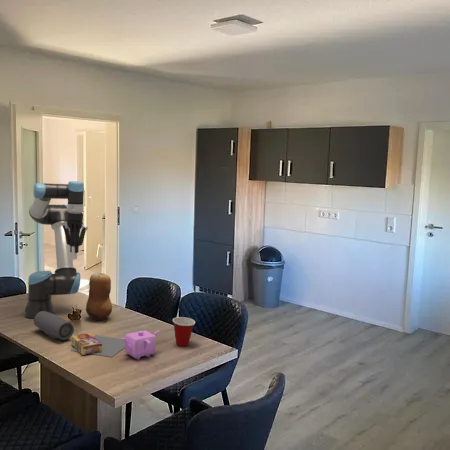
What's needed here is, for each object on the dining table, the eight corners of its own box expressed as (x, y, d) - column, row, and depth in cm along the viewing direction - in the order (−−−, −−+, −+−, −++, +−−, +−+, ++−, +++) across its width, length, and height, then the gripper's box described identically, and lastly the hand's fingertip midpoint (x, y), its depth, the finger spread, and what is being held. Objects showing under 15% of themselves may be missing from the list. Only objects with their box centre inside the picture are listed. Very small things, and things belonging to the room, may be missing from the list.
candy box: (71, 344, 227) (82, 355, 215) (71, 335, 227) (82, 345, 214) (90, 341, 232) (102, 352, 220) (90, 332, 232) (102, 342, 220)
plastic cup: (188, 350, 229) (189, 325, 227) (167, 346, 232) (168, 321, 231) (197, 343, 239) (199, 318, 238) (177, 339, 243) (178, 315, 241)
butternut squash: (115, 317, 272) (117, 272, 269) (105, 324, 259) (107, 277, 256) (91, 314, 274) (93, 270, 271) (80, 321, 261) (82, 274, 258)
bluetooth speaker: (75, 340, 234) (75, 319, 233) (56, 344, 227) (57, 323, 226) (50, 327, 249) (50, 308, 248) (32, 331, 242) (32, 311, 241)
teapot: (130, 347, 228) (131, 324, 227) (159, 350, 226) (160, 327, 225) (119, 360, 213) (120, 335, 212) (149, 363, 211) (150, 338, 210)
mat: (70, 350, 220) (70, 350, 220) (95, 335, 241) (95, 334, 241) (111, 357, 215) (111, 356, 215) (133, 341, 237) (133, 340, 237)
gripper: (59, 211, 246) (58, 258, 249) (83, 214, 243) (81, 261, 246) (67, 210, 253) (66, 256, 256) (90, 212, 250) (89, 259, 253)
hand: (74, 259), depth 251 cm, fingers closed
